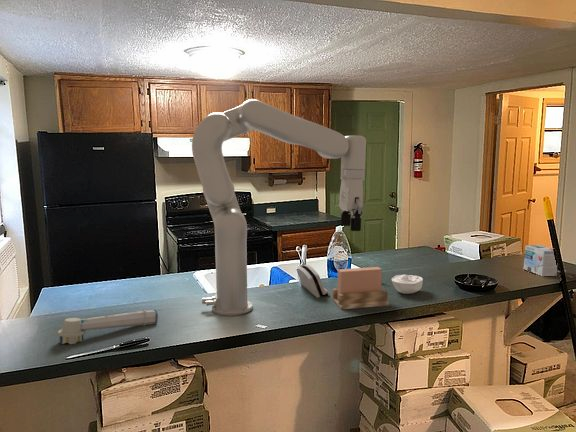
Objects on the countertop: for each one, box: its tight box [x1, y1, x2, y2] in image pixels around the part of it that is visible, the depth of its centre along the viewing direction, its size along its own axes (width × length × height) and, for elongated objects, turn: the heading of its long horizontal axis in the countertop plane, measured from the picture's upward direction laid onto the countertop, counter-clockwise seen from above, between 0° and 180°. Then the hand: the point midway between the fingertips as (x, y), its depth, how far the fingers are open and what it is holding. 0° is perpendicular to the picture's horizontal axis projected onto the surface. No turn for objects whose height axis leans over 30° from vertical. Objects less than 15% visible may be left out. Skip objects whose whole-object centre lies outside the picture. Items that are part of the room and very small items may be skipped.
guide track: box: [330, 287, 390, 310], centre depth 141 cm, size 16×10×4 cm, turn 102°
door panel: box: [337, 266, 383, 300], centre depth 140 cm, size 14×3×10 cm, turn 103°
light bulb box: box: [523, 244, 558, 276], centre depth 173 cm, size 11×7×11 cm, turn 10°
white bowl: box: [391, 274, 424, 295], centre depth 151 cm, size 10×12×7 cm
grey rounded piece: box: [296, 264, 331, 298], centre depth 154 cm, size 17×5×10 cm, turn 17°
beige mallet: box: [57, 309, 159, 345], centre depth 118 cm, size 5×7×25 cm
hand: (350, 228), depth 140 cm, fingers open, 9 cm apart
